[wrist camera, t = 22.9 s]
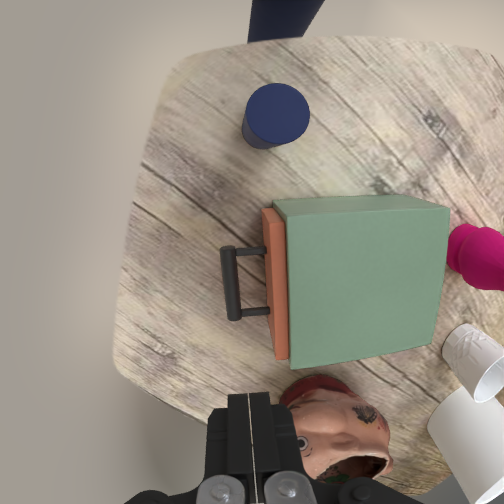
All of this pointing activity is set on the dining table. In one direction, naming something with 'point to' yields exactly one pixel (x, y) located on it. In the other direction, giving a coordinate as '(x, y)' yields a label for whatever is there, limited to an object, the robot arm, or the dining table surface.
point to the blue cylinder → (275, 116)
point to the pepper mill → (477, 256)
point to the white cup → (475, 361)
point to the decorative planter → (337, 431)
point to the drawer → (274, 281)
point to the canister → (471, 443)
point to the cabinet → (362, 275)
